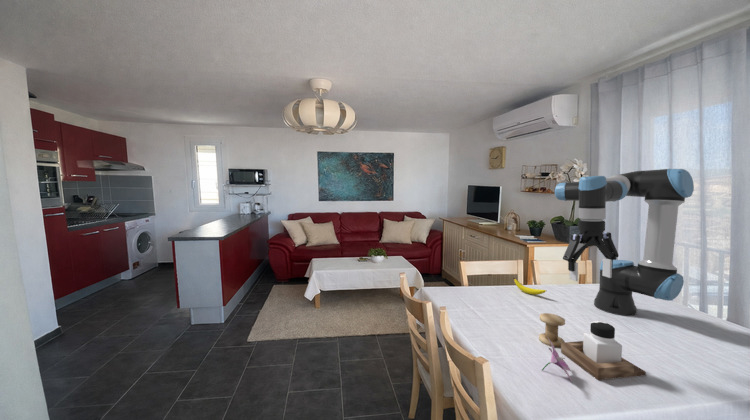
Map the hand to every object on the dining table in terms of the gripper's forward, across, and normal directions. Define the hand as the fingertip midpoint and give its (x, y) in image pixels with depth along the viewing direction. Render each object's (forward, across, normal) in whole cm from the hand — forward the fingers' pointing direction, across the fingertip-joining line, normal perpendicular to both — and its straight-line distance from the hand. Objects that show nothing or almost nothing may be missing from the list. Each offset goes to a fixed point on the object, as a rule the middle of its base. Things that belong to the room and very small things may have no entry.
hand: (590, 278), depth 99 cm
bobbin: (+24, +12, -4) cm, 27 cm away
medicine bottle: (+23, +6, +11) cm, 26 cm away
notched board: (+24, +7, +11) cm, 27 cm away
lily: (+24, +24, +13) cm, 37 cm away
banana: (+26, -12, -48) cm, 56 cm away
